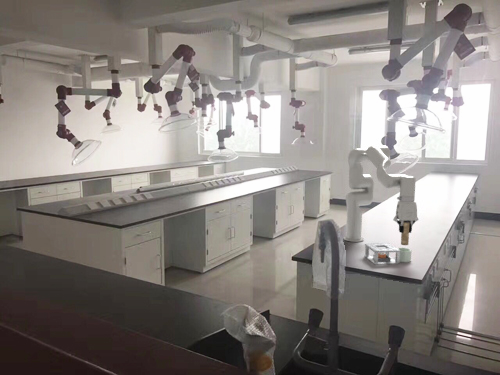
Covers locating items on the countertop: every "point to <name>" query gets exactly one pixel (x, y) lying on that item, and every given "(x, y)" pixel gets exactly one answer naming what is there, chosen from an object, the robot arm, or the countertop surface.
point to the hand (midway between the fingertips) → (405, 232)
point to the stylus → (405, 233)
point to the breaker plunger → (381, 255)
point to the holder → (405, 255)
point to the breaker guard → (386, 250)
